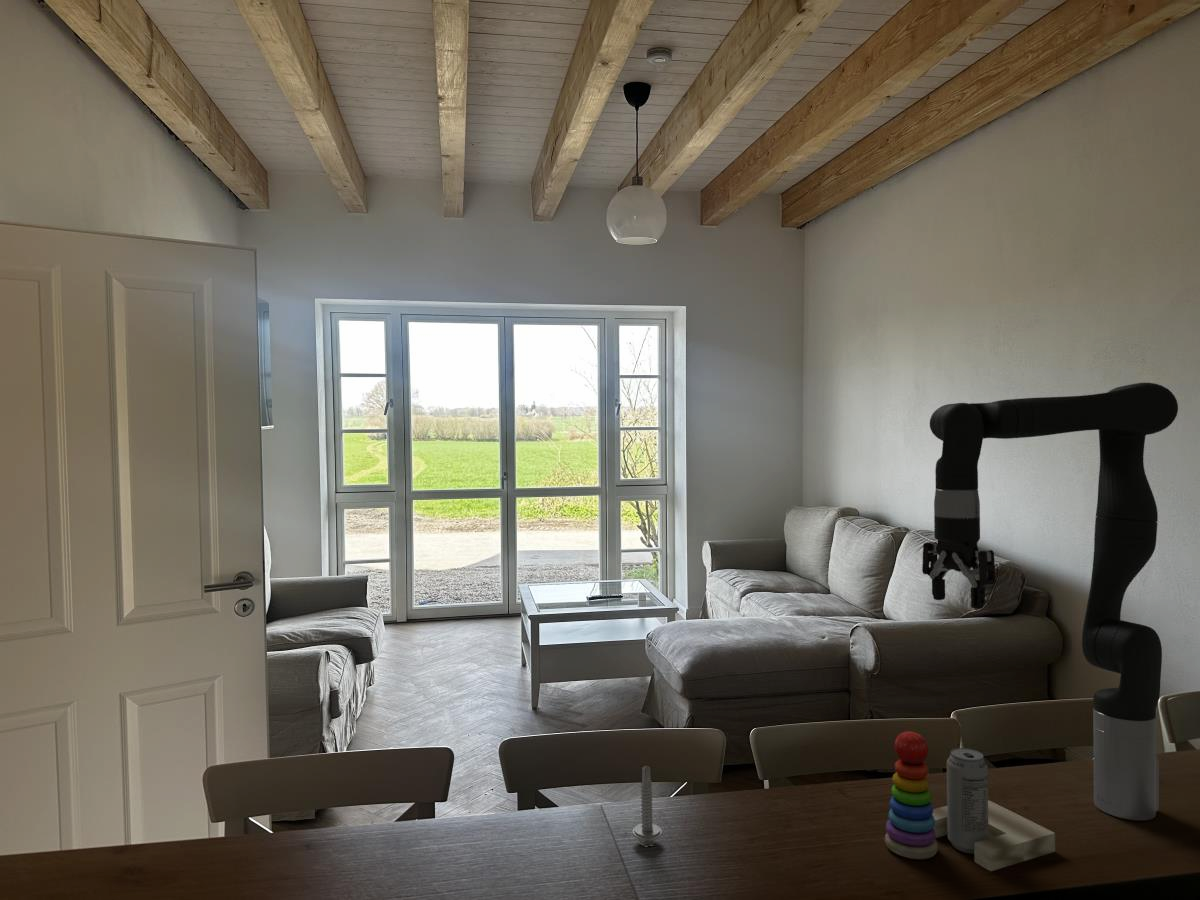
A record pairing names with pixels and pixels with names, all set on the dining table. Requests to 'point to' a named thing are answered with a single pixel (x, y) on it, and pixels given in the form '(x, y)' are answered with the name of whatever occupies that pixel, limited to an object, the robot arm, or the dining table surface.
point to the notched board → (1004, 838)
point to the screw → (646, 813)
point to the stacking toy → (911, 801)
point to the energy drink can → (967, 799)
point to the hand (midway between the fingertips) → (957, 603)
